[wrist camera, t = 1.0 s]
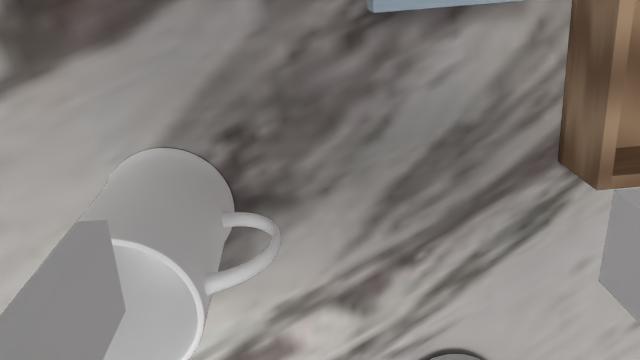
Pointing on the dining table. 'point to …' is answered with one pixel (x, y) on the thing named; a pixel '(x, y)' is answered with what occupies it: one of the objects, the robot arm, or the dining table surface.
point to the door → (421, 4)
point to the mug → (170, 249)
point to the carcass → (603, 94)
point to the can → (455, 357)
